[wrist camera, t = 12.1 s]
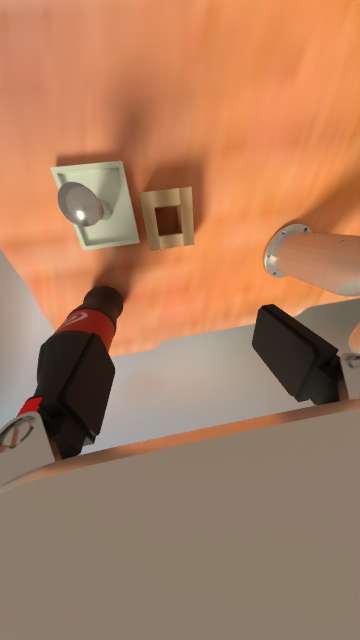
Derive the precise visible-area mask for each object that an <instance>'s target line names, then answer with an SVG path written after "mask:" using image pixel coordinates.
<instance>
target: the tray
mask: <svg viewBox="0 0 360 640" xmlns="http://www.w3.org/2000/svg"><path fill="white" fill-rule="evenodd" d="M50 169H51V172H52V174H53V177H54V179H55V182H56V184H57V186H58V189H60V187H61V186H62V185H63V184H65V183H67V182H77V183H80V184H82V185H84V186H86V187H88V188H89V189H90V190H91V191H92V192H93V193H94V194H95V195H96V197H97V198H99V199H101V200H103V201H106V202H107V203H108V204H109V205H110V207H111V209H112V216H111V218H110V219H109V220H99V221H98V222H97V223H96V224H95V225H93V226H88V227H82V226H78V225H76V224H74V223H73V226H74V228H75V231H76V233H77V236H78V238H79V241H80V243H81V245H82V248H83V250H91V249H99V248H106V247H113V246H121V245H128V244H135V243H140V238H139V233H138V229H137V224H136V220H135V215H134V210H133V206H132V201H131V197H130V192H129V188H128V183H127V178H126V174H125V169H124V165H123V162H122V161H112V162H102V163H92V164H81V165H71V166H61V167H50Z"/></svg>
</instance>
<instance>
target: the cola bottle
mask: <svg viewBox="0 0 360 640" xmlns="http://www.w3.org/2000/svg"><path fill="white" fill-rule="evenodd" d="M122 311H123V300H122V297H121V296H120V294H119V293H118V292H117V291H116V290H114V289H113V288H110V287H106V286H100V287H96V288H94V289H92V290H90V291H89V292H88V293H87V294H86V296H85V298H84V301H83V304H82V305H80V306H79V307H77V308H76V309H74V310H73V311H72V312H71V313H70V314H69V315H68V317H67V319H66V320H65V321H64V322H63V324H62V325H61V326H60V327H59V328H58V329H57V331H56V332H55V333H54V334H53V335H52V336H51V337H50V338H49V339H48V340H47V341H46V342H45V343H43V344H42V345H41V348H40V353H39V359H38V368H37V383H38V385H37V389H36V391H35V394H34V396H33V397H30V398H29V399H28V400H27V401H26V402H25V404H24V405H23V407H22V409H21V410H20V412H19V414H18V415H17V417H18V416H19V415H21V414H24V413H27V412H33V411H34V412H37V410H38V408H39V406H38V404H39V403H40V401H41V399H42V398H43V396H44V395H45V393H46V391H47V390H48V388H49V387H50V385H51V383H52V382H53V380H54V379H55V377H56V376H57V374H58V372H59V371H60V369H61V368H62V366H63V364H64V363H65V361H66V360H67V358H68V356H69V355H70V353H71V352H72V350H73V348H74V347H75V345H76V344H77V342H78V340H79V339H80V337H81V336H82V335H83V334H86V333H93V332H94V333H96V334H99V335H100V337H101V339H102V341H103V343H104V345H105V347H106V349H107V352H109V349H110V346H111V343H112V339H113V337H114V335H115V332H116V323H117V318H118V317H119V316H120V315H121V313H122Z"/></svg>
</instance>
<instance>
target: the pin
mask: <svg viewBox="0 0 360 640" xmlns="http://www.w3.org/2000/svg"><path fill="white" fill-rule="evenodd" d="M58 203H59V206H60V209H61V211H62V212H63V214H64V215H65V216H66V218H67V219H68V220H70V221H71V222H72V223H74V224H76V225H78V226H82V227H88V226H93V225H95V224H96V223H97V222H98V221H99V220H109V219H110V218H111V216H112V209H111V207H110V205H109V204H108V203H107V202H106V201H103V200H101V199H99V198H97V197H96V195H95V194H94V193H93V192H92V191H91V190H90V189H89V188H88V187H86V186H84V185H82V184H80V183H77V182H67V183H65V184H63V185H62V186H61V187H60V189H59V192H58Z"/></svg>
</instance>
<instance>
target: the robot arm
mask: <svg viewBox="0 0 360 640" xmlns="http://www.w3.org/2000/svg"><path fill="white" fill-rule="evenodd" d="M263 264H264V268H265V270H266V271H267V273H268V274H270V275H272V276H274V277H280V278H281V277H286V276H291V277H294V278H296V279H299V280H301V281H304V282H306V283H309V284H311V285H314V286H316V287H319V288H321V289H324V290H326V291H329V292H332V293H334V294H337V295H341V296H360V236H355V235H342V234H328V233H315V232H312V231H311V229H310V228H309V227H308V226H307V225H305V224H298V223H296V224H290V225H287V226H285V227H283V228H282V229H280V230H279V231H278V232H277V233H276V234H275V235H274V236H273V237H272V238H271V240H270V241H269V243H268V245H267V246H266V249H265V252H264V256H263ZM252 346H253V348H254V350H255V351H256V352H257V353H258V355H259V356H260V357H261V359H262V360H263V361H264V362H265V364H266V365H267V366H268V368H269V369H270V370H271V371H272V373H273V374H274V375H275V377H276V378H277V379H278V380H279V382H280V383H281V384H282V386H283V387H284V388H285V389H286V390H287V392H288V393H289V394H290V395H291V396H294V397H295V399H296V400H297V401H298V402H302V401H306V400H309V398H310V400H311V401H312V402H313V406H312V407H307V408H302V409H297V410H292V411H287V412H282V413H277V414H273V415H267V416H262V417H257V418H252V419H247V420H242V421H238V422H233V423H228V424H224V425H219V426H213V427H209V428H204V429H199V430H194V431H189V432H185V433H179V434H175V435H170V436H166V437H161V438H156V439H151V440H147V441H142V442H137V443H133V444H128V445H123V446H118V447H114V448H109V449H105V450H101V451H96V452H92V453H88V454H83V455H81V454H80V453H81V450H82V447H83V446H86V445H90V444H94V442H95V438H96V436H97V435H99V433H100V430H101V426H102V422H103V418H104V414H105V410H106V406H107V402H108V399H109V395H110V391H111V387H112V383H113V379H114V375H115V367H114V364H113V362H112V360H111V358H110V356H109V354H108V352H107V349H106V347H105V345H104V343H103V341H102V339H101V337H100V335H99V334H96V333H94V332H93V333H86V334H83V335H82V336H81V337H80V339H79V340H78V342H77V344H76V345H75V347H74V348H73V350H72V352H71V353H70V355H69V356H68V358H67V360H66V361H65V363H64V364H63V366H62V368H61V369H60V371H59V372H58V374H57V376H56V377H55V379H54V380H53V382H52V383H51V385H50V387H49V388H48V390H47V391H46V393H45V395H44V396H43V398H42V399H41V401H40V403H39V404H38V406H39V408H38V410H37V412H34V411H33V412H27V413H24V414H21V415H19V416H18V417H16V418H14V419H13V420H11V421H10V422H8V423H7V424H6V425H5V426H4V427H3V428H2V429H1V430H0V640H360V322H359V324H358V325H357V327H356V328H355V329H354V331H353V332H352V334H351V336H350V338H349V347H350V349H351V350H352V352H353V353H344V354H342V355H341V356H340V357H339V356H338V355H336V354H337V352H338V349H337V348H335V347H334V346H333V345H331V344H330V343H328V342H327V341H325V340H324V339H323V338H321V337H320V336H318V335H317V334H315V333H314V332H312V331H311V330H310V329H308V328H307V327H305V326H304V325H303V324H301V323H300V322H298V321H297V320H295V319H294V318H293V317H291V316H290V315H288V314H287V313H285V312H284V311H283V310H281V309H280V308H278V307H277V306H275V305H274V304H269V305H263V306H262V307H261V308H260V309H259V310H258V314H257V319H256V325H255V330H254V335H253V340H252Z"/></svg>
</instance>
